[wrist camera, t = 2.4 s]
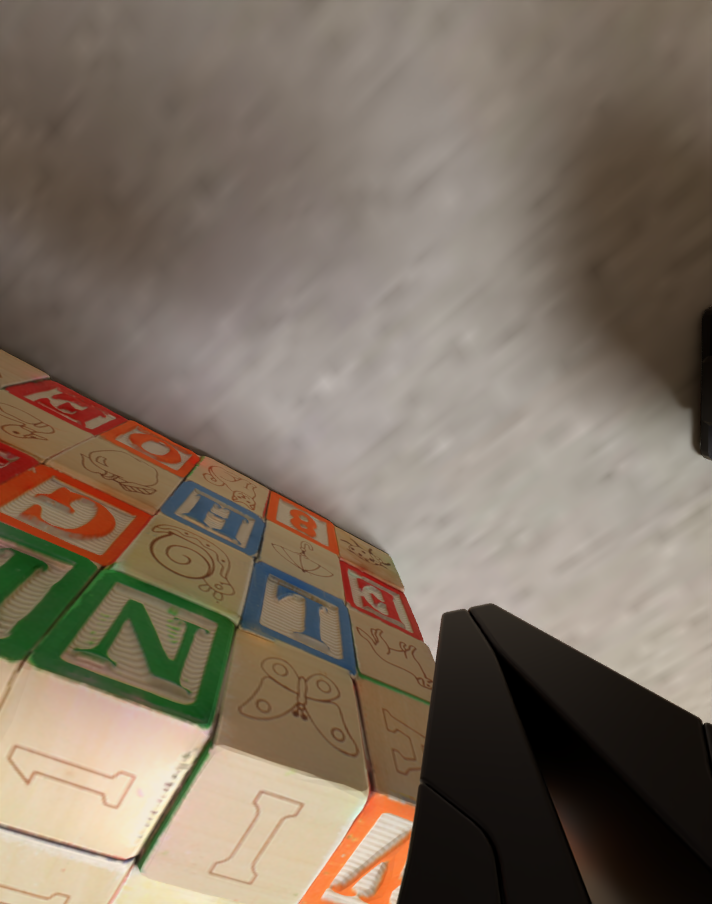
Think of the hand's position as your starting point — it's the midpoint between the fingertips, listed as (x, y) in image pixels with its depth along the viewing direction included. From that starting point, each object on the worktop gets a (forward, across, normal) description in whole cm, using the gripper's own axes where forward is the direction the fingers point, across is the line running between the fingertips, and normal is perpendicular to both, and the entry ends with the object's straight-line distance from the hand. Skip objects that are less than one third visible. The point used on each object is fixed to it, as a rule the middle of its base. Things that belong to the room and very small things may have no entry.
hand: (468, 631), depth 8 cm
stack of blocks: (+12, +10, 0) cm, 16 cm away
